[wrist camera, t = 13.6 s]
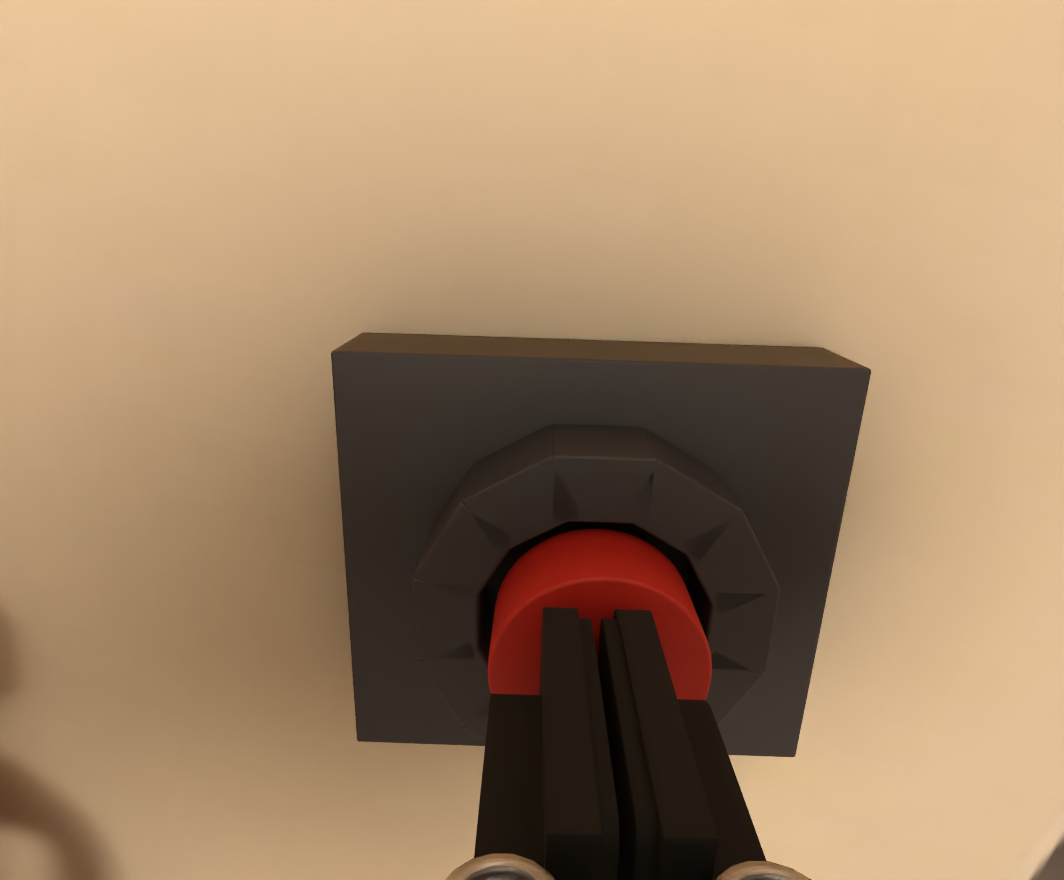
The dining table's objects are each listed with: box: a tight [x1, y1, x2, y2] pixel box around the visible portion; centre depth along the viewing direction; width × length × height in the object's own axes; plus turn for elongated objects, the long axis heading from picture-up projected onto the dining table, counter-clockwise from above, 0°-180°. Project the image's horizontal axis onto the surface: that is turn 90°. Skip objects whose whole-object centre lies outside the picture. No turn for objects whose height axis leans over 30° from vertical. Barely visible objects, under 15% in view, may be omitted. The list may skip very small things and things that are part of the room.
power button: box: [488, 529, 712, 700], centre depth 11 cm, size 4×4×2 cm
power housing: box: [331, 333, 871, 757], centre depth 14 cm, size 10×9×4 cm
